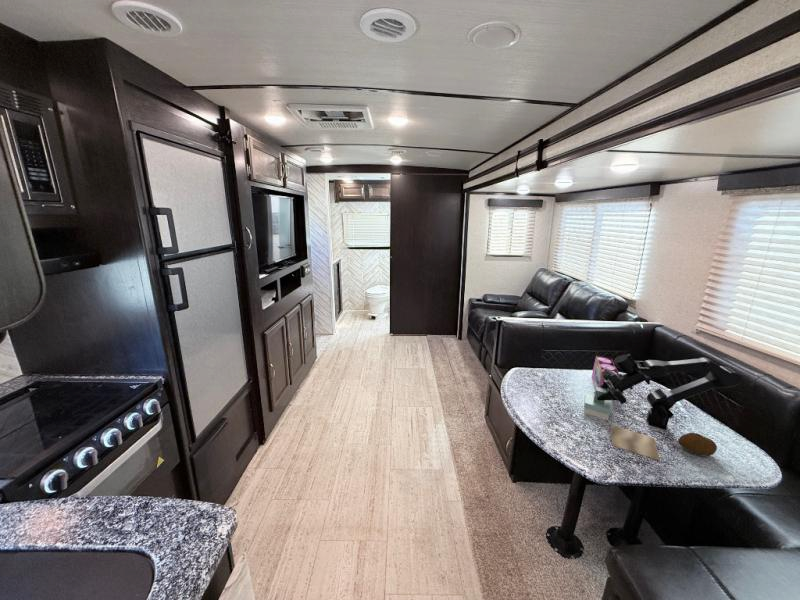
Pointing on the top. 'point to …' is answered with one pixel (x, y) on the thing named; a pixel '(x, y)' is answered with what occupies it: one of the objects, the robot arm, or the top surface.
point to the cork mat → (634, 442)
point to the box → (596, 414)
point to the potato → (697, 444)
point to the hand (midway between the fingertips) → (596, 396)
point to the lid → (598, 402)
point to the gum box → (602, 369)
